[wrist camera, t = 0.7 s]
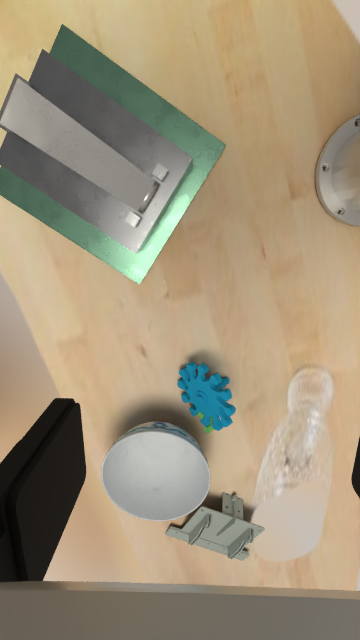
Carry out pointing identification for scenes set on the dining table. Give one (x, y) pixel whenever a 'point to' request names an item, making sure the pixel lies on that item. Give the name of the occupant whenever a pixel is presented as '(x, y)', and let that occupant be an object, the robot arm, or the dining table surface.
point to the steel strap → (75, 147)
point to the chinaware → (156, 472)
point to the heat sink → (122, 136)
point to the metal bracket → (219, 529)
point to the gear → (206, 396)
